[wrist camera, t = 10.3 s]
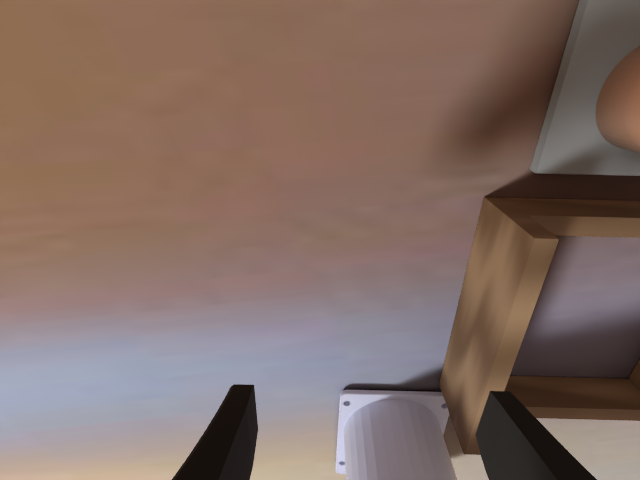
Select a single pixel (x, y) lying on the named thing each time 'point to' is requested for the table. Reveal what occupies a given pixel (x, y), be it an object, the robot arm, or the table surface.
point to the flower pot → (621, 104)
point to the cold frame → (526, 313)
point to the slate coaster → (588, 93)
